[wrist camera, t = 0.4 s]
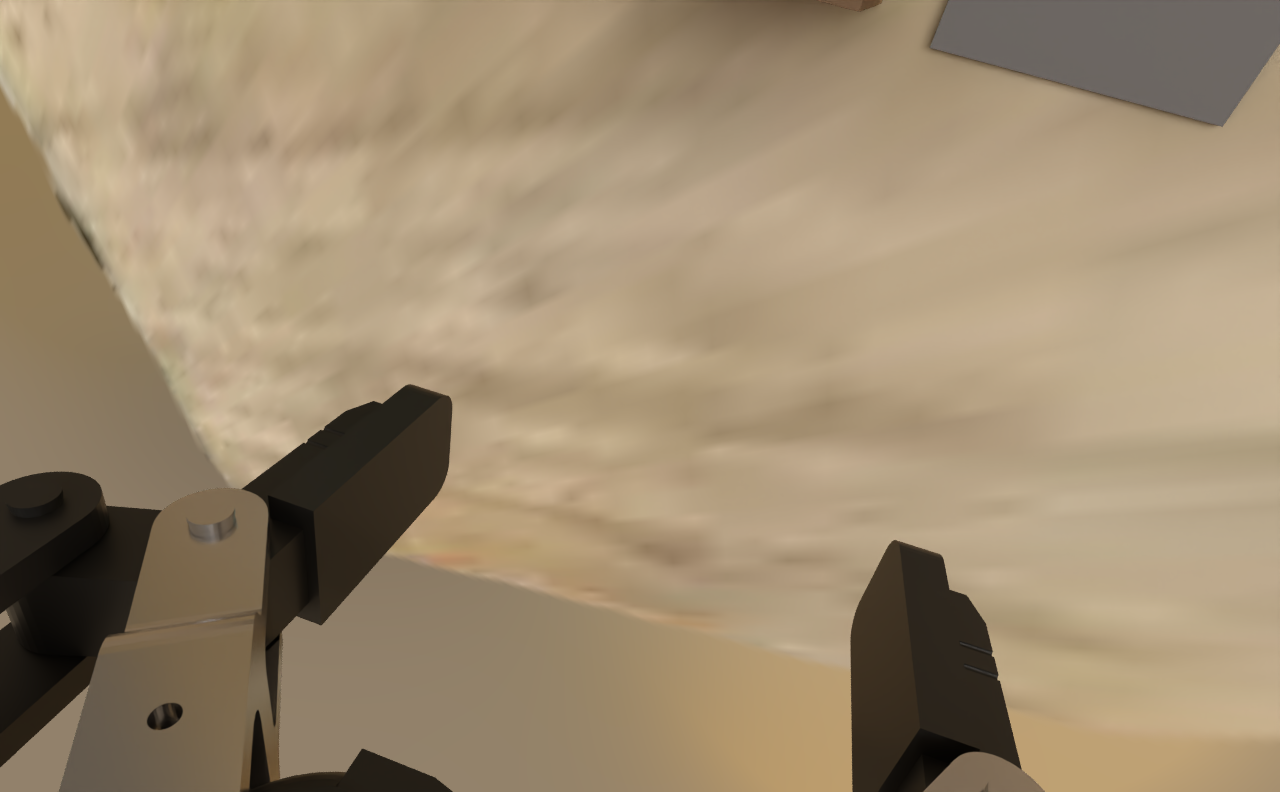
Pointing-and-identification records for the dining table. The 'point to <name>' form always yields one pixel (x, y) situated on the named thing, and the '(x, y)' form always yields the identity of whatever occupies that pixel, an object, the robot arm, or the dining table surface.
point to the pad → (1124, 46)
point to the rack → (853, 3)
